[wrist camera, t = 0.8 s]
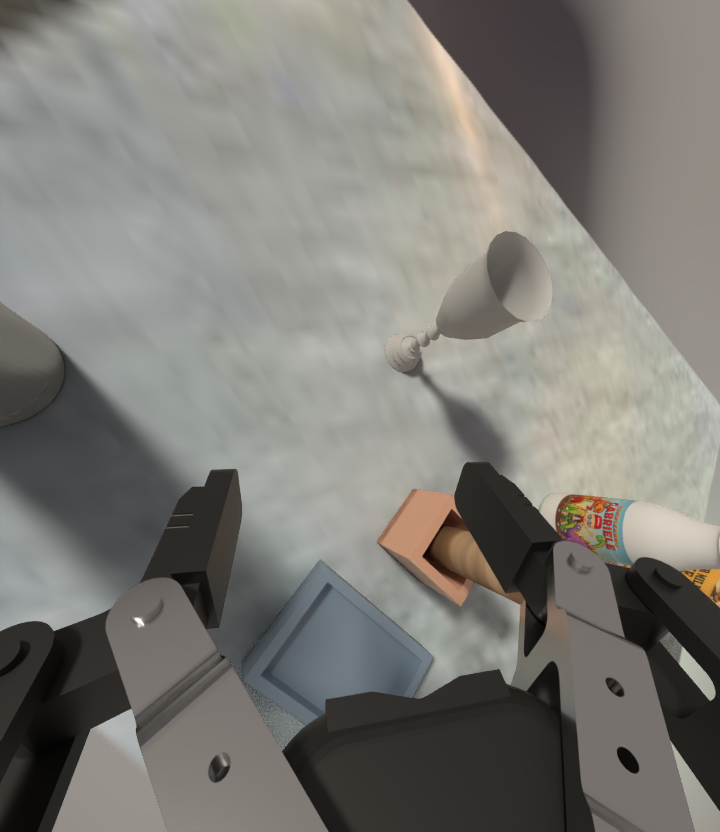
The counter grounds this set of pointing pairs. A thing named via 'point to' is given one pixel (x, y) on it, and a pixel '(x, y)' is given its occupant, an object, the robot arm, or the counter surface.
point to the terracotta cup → (425, 541)
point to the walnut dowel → (464, 559)
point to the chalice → (484, 299)
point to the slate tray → (332, 649)
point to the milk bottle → (633, 531)
